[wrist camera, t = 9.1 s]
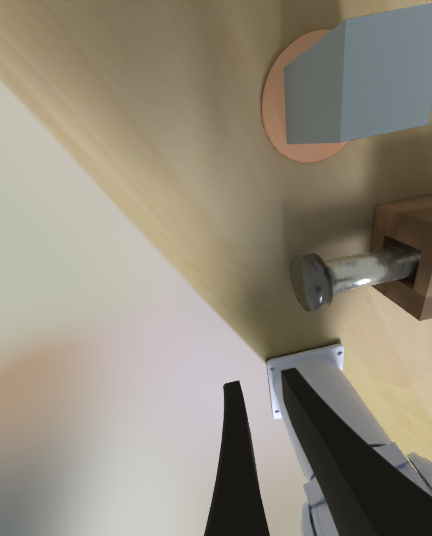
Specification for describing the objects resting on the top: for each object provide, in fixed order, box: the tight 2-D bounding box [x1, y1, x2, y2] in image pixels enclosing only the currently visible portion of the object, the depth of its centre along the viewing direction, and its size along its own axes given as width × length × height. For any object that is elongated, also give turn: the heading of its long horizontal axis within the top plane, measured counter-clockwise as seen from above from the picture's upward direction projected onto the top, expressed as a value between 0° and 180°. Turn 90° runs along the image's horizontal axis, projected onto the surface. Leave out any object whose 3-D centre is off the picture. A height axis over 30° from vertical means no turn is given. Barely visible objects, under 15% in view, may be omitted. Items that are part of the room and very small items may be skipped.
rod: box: [290, 244, 422, 311], centre depth 18 cm, size 4×8×4 cm, turn 100°
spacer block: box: [284, 3, 432, 144], centre depth 12 cm, size 4×4×6 cm
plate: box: [262, 29, 349, 163], centre depth 15 cm, size 7×7×1 cm
